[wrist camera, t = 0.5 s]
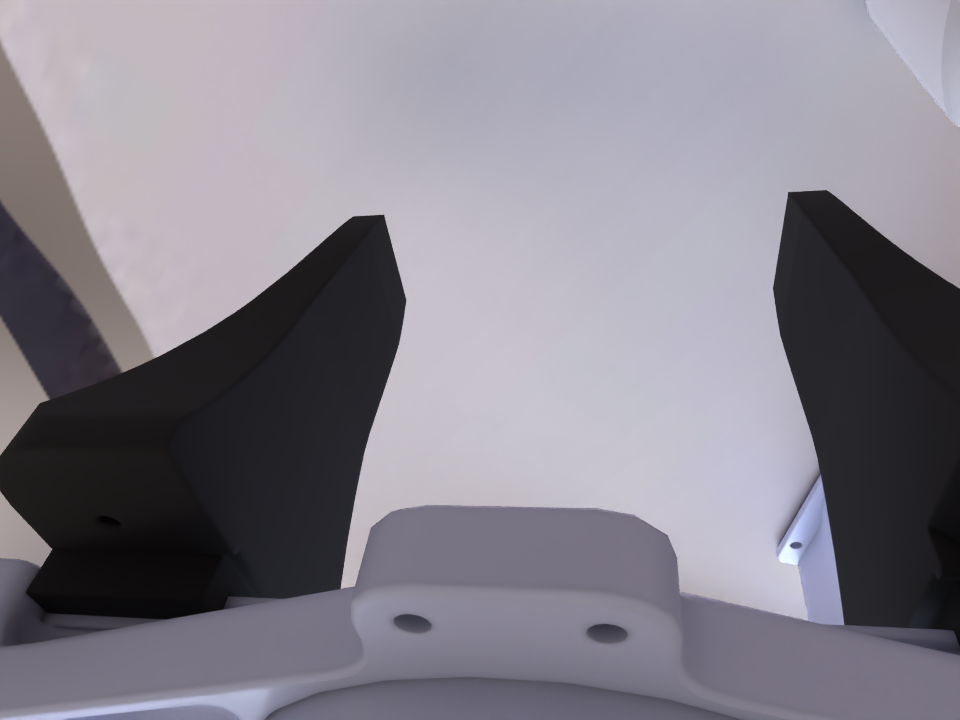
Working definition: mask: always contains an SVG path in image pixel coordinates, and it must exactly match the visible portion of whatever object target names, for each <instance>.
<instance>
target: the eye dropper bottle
mask: <svg viewBox="0 0 960 720" xmlns="http://www.w3.org/2000/svg"><path fill="white" fill-rule="evenodd" d="M864 1H865V5H866V9H867V12H868V15H869V16H870V18H871V19H872V21H873V22H874V23H875V25H876V26H877V27H878V29H879V30H880V31H881V33H882V34H883V35H884V37H885V38H886V39H887V41H888V42H889V43H890V44H891V46H892V47H893V48H894V50H895V51H896V52H897V54H898V55H899V56H900V58H901V59H902V60H903V61H904V63H905V64H906V65H907V67H908V68H909V69H910V71H911V72H912V73H913V74H914V76H915V77H916V78H917V79H918V81H919V82H920V83H921V85H922V86H923V87H924V88H925V90H926V91H927V92H928V93H929V95H930V96H931V97H932V99H933V100H934V101H935V102H936V104H937V105H938V106H939V107H940V108H941V109H942V111H943V112H944V113H945V114H946V115H947V116H948V117H949V119H950V120H951V121H952V122H953V123H954V124H955V125H956V126H958V127H959V128H960V0H864Z"/></svg>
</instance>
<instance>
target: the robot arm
mask: <svg viewBox="0 0 960 720" xmlns="http://www.w3.org/2000/svg"><path fill="white" fill-rule="evenodd" d="M773 291H774V298H775V305H776V312H777V318H778V324H779V330H780V336H781V339H782V342H783V346H784V349H785V352H786V355H787V359H788V362H789V365H790V368H791V372H792V375H793V378H794V381H795V384H796V387H797V390H798V393H799V397H800V400H801V403H802V406H803V409H804V412H805V415H806V419H807V422H808V425H809V428H810V431H811V434H812V438H813V442H814V446H815V450H816V453H817V458H818V463H819V468H820V476H819V478H818V479H817V481H816V483H815V485H814V486H813V488H812V490H811V491H810V493H809V495H808V497H807V498H806V500H805V502H804V503H803V505H802V507H801V509H800V510H799V512H798V514H797V516H796V517H795V519H794V521H793V522H792V524H791V526H790V528H789V529H788V531H787V533H786V534H785V536H784V538H783V540H782V541H781V543H780V545H779V547H778V548H777V551H776V554H777V558H778V560H779V561H781V562H783V563H788V564H794V565H798V567H799V572H800V577H801V583H802V588H803V593H804V598H805V603H806V608H807V614H808V619H809V621H806V620H802V619H797V618H793V617H789V616H784V615H780V614H775V613H771V612H767V611H762V610H758V609H754V608H749V607H745V606H740V605H736V604H732V603H727V602H723V601H718V600H714V599H710V598H705V597H701V596H697V595H692V594H688V593H683V592H679V579H678V566H677V557H676V554H675V552H674V550H673V547H672V545H671V543H670V540H669V538H668V535H666V534H664V533H663V532H661V531H660V530H658V529H656V528H655V527H653V526H651V525H650V524H648V523H646V522H645V521H643V520H641V519H640V518H638V517H636V516H635V515H631V514H625V513H620V512H614V511H608V510H603V509H597V508H549V507H500V506H451V505H426V506H419V507H413V508H406V509H399V510H396V511H393V512H391V513H389V514H388V515H387V516H385V517H384V518H383V519H381V520H380V521H379V522H378V523H376V524H375V525H374V526H372V527H371V530H370V534H369V537H368V541H367V545H366V548H365V552H364V556H363V559H362V563H361V567H360V570H359V574H358V578H357V581H356V585H355V587H349V588H344V589H340V588H341V581H342V574H343V567H344V561H345V554H346V547H347V541H348V535H349V529H350V523H351V518H352V512H353V506H354V501H355V495H356V490H357V485H358V480H359V475H360V471H361V466H362V461H363V456H364V452H365V448H366V444H367V441H368V437H369V434H370V431H371V428H372V425H373V422H374V419H375V416H376V413H377V410H378V407H379V404H380V401H381V398H382V395H383V392H384V389H385V386H386V383H387V380H388V377H389V374H390V371H391V367H392V364H393V361H394V358H395V355H396V352H397V349H398V345H399V341H400V336H401V330H402V325H403V319H404V312H405V306H406V297H405V294H404V290H403V286H402V282H401V278H400V274H399V271H398V267H397V263H396V259H395V255H394V252H393V248H392V244H391V240H390V236H389V233H388V229H387V225H386V221H385V217H384V215H373V216H355V217H352V218H351V219H349V220H348V221H347V222H345V223H344V224H343V225H342V226H340V227H339V228H338V229H337V230H336V231H335V232H333V233H332V234H331V235H330V236H329V237H328V238H327V239H325V240H324V241H323V242H322V243H321V244H320V245H319V246H317V247H316V248H315V249H314V250H313V251H312V252H311V253H309V254H308V255H307V256H306V257H305V258H304V259H303V260H301V261H300V262H299V263H298V264H297V265H296V266H294V267H293V268H292V269H291V270H290V271H289V272H287V273H286V274H285V275H284V276H282V277H281V278H280V279H279V280H277V281H276V282H275V283H274V284H272V285H271V286H270V287H268V288H267V289H266V290H265V291H263V292H262V293H261V294H260V295H258V296H257V297H256V298H255V299H253V300H252V301H251V302H249V303H248V304H246V305H245V306H244V307H242V308H241V309H239V310H238V311H236V312H235V313H233V314H232V315H230V316H229V317H227V318H226V319H224V320H223V321H221V322H219V323H218V324H216V325H215V326H213V327H212V328H210V329H208V330H207V331H205V332H203V333H202V334H200V335H198V336H196V337H194V338H192V339H191V340H189V341H187V342H185V343H183V344H181V345H179V346H178V347H176V348H174V349H172V350H170V351H168V352H167V353H165V354H163V355H161V356H159V357H157V358H155V359H152V360H150V361H148V362H146V363H144V364H142V365H140V366H138V367H135V368H133V369H131V370H128V371H126V372H124V373H121V374H119V375H116V376H114V377H112V378H109V379H107V380H104V381H102V382H99V383H97V384H94V385H91V386H88V387H85V388H83V389H80V390H77V391H74V392H71V393H68V394H66V395H63V396H60V397H57V398H54V399H51V400H48V401H45V402H42V403H40V404H39V405H38V406H37V408H36V409H35V411H34V412H33V413H32V414H31V416H30V417H29V418H28V420H27V421H26V422H25V424H24V425H23V426H22V428H21V429H20V430H19V432H18V433H17V434H16V436H15V437H14V438H13V440H12V441H11V442H10V443H9V445H8V446H7V447H6V449H5V450H4V452H3V453H2V454H1V455H0V491H1V493H2V494H3V495H4V497H5V498H6V499H7V500H8V502H9V503H10V505H11V506H12V507H13V508H14V509H15V510H16V511H17V512H18V513H19V514H20V515H21V516H22V517H23V519H24V520H26V522H27V523H28V524H29V525H30V526H31V527H32V528H33V529H34V530H35V531H36V532H37V533H38V534H39V535H40V536H41V538H42V539H43V540H44V541H45V542H46V543H47V544H48V545H49V546H50V547H51V548H52V551H51V553H50V554H49V556H48V557H47V559H46V561H45V562H44V564H43V565H42V567H40V566H38V565H36V564H33V563H31V562H28V561H24V560H19V559H0V720H960V289H959V288H958V287H956V286H954V285H953V284H951V283H949V282H948V281H946V280H945V279H943V278H942V277H940V276H939V275H937V274H936V273H934V272H933V271H931V270H930V269H928V268H927V267H925V266H924V265H922V264H921V263H919V262H918V261H916V260H915V259H914V258H912V257H911V256H909V255H908V254H907V253H905V252H904V251H903V250H901V249H900V248H899V247H897V246H896V245H895V244H893V243H892V242H891V241H889V240H888V239H887V238H886V237H884V236H883V235H882V234H880V233H879V232H878V231H877V230H875V229H874V228H873V227H872V226H871V225H869V224H868V223H867V222H866V221H864V220H863V219H862V218H861V217H860V216H858V215H857V214H856V213H855V212H854V211H852V210H851V209H850V208H849V207H848V206H846V205H845V204H844V203H843V202H842V201H840V200H839V199H838V198H837V197H835V196H834V195H833V194H831V193H830V192H829V191H827V190H821V191H803V192H788V198H787V205H786V211H785V217H784V224H783V230H782V236H781V242H780V249H779V255H778V261H777V267H776V274H775V280H774V286H773Z"/></svg>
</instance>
